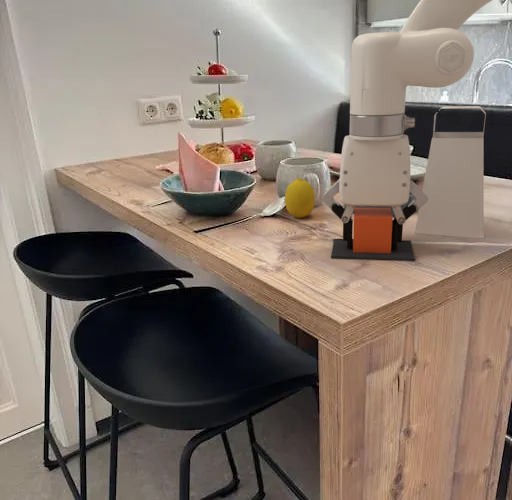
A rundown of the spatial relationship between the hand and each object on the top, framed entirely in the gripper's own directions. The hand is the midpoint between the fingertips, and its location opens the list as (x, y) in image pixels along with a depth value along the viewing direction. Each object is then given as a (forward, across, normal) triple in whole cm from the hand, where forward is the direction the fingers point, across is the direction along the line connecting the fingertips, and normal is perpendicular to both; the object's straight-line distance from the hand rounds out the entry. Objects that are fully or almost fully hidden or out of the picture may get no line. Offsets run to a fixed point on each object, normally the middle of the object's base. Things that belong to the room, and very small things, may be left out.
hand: (371, 244), depth 77 cm
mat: (+1, 0, 0) cm, 1 cm away
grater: (+1, -13, -11) cm, 17 cm away
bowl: (+1, -2, -23) cm, 23 cm away
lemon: (+1, +13, -15) cm, 20 cm away
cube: (0, 0, 0) cm, 0 cm away
